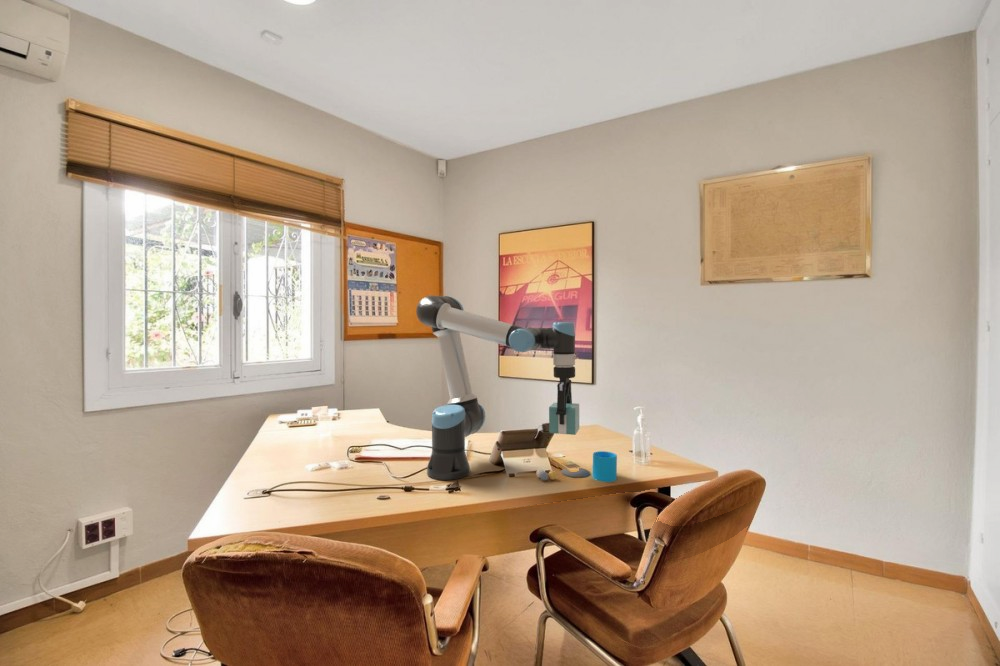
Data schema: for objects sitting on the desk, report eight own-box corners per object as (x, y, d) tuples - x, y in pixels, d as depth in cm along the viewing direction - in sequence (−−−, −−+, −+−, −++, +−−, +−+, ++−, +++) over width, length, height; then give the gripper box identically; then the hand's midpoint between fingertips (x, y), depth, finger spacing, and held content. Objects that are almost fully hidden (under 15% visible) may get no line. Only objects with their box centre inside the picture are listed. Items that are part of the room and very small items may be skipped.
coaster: (559, 476, 164) (559, 474, 164) (563, 467, 174) (563, 466, 173) (588, 479, 161) (588, 477, 161) (590, 469, 171) (590, 468, 171)
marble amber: (548, 481, 160) (546, 473, 159) (549, 477, 162) (548, 469, 162) (556, 481, 159) (555, 473, 158) (558, 477, 161) (556, 469, 161)
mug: (619, 481, 159) (619, 458, 158) (595, 482, 158) (596, 458, 158) (609, 470, 171) (610, 448, 170) (587, 470, 170) (588, 448, 170)
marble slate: (538, 481, 159) (539, 473, 158) (540, 477, 161) (540, 469, 161) (547, 483, 158) (547, 475, 157) (549, 478, 161) (549, 470, 160)
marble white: (543, 480, 162) (535, 478, 161) (541, 473, 165) (534, 471, 164) (547, 474, 161) (539, 473, 160) (545, 467, 163) (537, 466, 162)
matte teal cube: (549, 433, 160) (549, 407, 160) (554, 427, 169) (554, 402, 169) (575, 434, 157) (575, 408, 157) (579, 428, 166) (579, 403, 166)
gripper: (569, 369, 151) (570, 438, 152) (579, 363, 172) (580, 424, 172) (547, 369, 153) (547, 437, 154) (559, 363, 174) (560, 423, 175)
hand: (565, 430), depth 163 cm, fingers closed on matte teal cube, 9 cm apart
